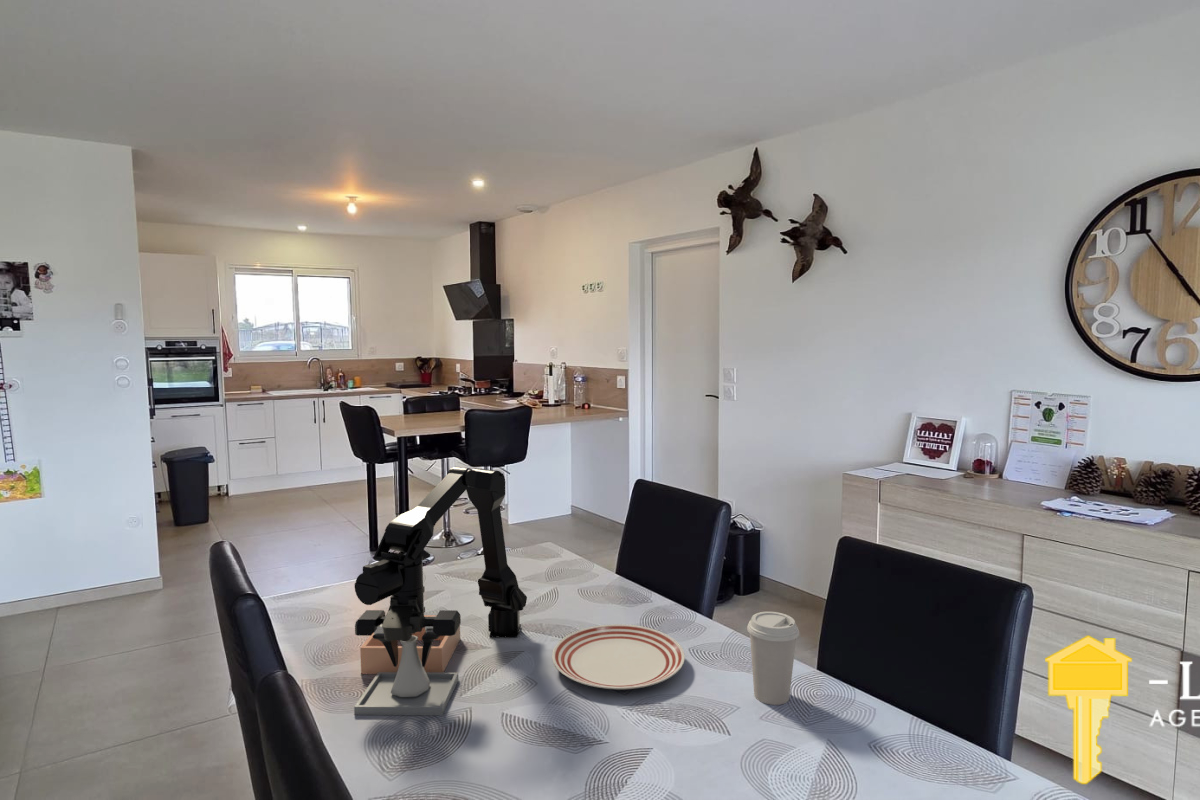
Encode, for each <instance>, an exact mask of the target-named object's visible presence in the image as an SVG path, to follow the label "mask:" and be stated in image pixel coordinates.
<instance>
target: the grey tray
mask: <svg viewBox="0 0 1200 800" xmlns="http://www.w3.org/2000/svg"><path fill="white" fill-rule="evenodd" d="M426 674H427V676H428V678H429V681H430V685H429V688H428V690H427V691H425V692H423V693H422V694H420V695H418V696H415V697H399V696H397V695H394V694H391V690H392V687H393V684H394V681H395V678H396V675H397V672H378V673H377V674H375V676H374V677H373V679H372V680H371V682H370V683H369V685H368V687H367V688H366V689H365V691H364V692H363V693H362V695H361V696H360V698H359V699H358V701H357V702H356V704H354V707H353V711H354V716H355V715H357V716H358V715H359V716H360V715H361V716H363V715H364V716H369V715H370V716H374V715H375V716H444V715H443V714H444V713H445V711H446V708H447V706H448V704H449V702H450V699H451V697H452V695H453V692H454V691H455V688H456V686H457V684H458V682H459V672H444V673H439V672H426Z"/></svg>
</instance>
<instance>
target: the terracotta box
mask: <svg viewBox="0 0 1200 800" xmlns="http://www.w3.org/2000/svg"><path fill="white" fill-rule="evenodd" d="M432 616H437V615H435V614H434V615H433V614H430V615H429V614H428V615H427V614H424V617H432ZM425 632H426V630H425V627H423V628H422V631H421V632H415V634H412V635H414V636H417V637H418V640H417V641H422V636H423V635H424V633H425ZM373 635H374V633H373V634H372V635H371V636H368V637H367V639H366V640H365V641H364V642H363V644H362V645H361V646H360V649H359V650H360V674H362V675H377V673H378V672H397V671H398V668H399V665H400V661H401V655H402V645H398V665H397V666H396V667H394V665H393V663H392V661H391V659H390V656H389V654H388V652H387V650H386V648H385V646H384V644H383V643H382V642H381V641H379V640H378V639H373V637H372V636H373ZM434 641H440V644H439V645H438V646H434V645H432V646H431V650H430V653H429V656H428V659H427V662H426V665H425V667H424V670H425V672H439V673H445V670H446V669H447V666H448V665H449V663H450V660H451V659H452V657H453V654H454V653H455V650H456V649H457V647H458V644H459V643H460V641H461V625H460V626H459V628H458V629H457V631H456V633H455V635H452V636H439V638H438V639H434ZM422 649H423V645H422V646H418V645H417V650H418V655H419V658H420V660H421V663H422Z"/></svg>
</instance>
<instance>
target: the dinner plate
mask: <svg viewBox="0 0 1200 800" xmlns="http://www.w3.org/2000/svg"><path fill="white" fill-rule="evenodd" d="M551 656H552V657H551V658H552V662H553V665H554V667H555V668H556V669H557V670H558V671H559V673H561V674H562V675H564V677H567V678H568V679H570V680H571V681H575V682H577V683H578V684H582V685H585V686H589V687H594V688H599V689H607V690H632V689H633V690H634V689H641V688H647V687H651V686H655V685H658V684H660V683H662V682H664V681H666V680H669V679H670V678H672V677H673V676H674V675H675V674H677V673H678V672H680V670H681V669H682V667H683V666H684V663H685V659H686V655H685V651H684V649H683V647H682V645H680V643H679V642H678V641H677V640H676V639H675V638H673V637H671V635H668V634H666V633H665V632H661V631H659V630H658V629H654V628H650V627H647V626H641V625H635V624H634V625H633V624H622V623H621V624H619V623H617V624H614V623H613V624H602V625H595V626H591V627H585V628H582V629H579V630H576V631H573V632H571V633H570V634H568V635H566V636H564V637H563V638H562V639H560V641H558V642H557V643H556V645H555V646H554V648H553V650H552V655H551Z"/></svg>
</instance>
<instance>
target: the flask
mask: <svg viewBox="0 0 1200 800" xmlns="http://www.w3.org/2000/svg"><path fill="white" fill-rule="evenodd" d="M418 641H419V640H418V637H417V636H414V635H412V637H411V639H409V640H408V641H401V640H399V642H400V644H401V646H402V655H401V661H400V665H399V668H398V671H397V675H396V678H395V681H394V684H393V687H392V690H391V694H394V695H397V696H399V697H415V696H418V695H420V694H422V693H423V692H425V691H427V690H428V688H429V685H430V681H429V678H428V676H427V674H426V672H425V670H424V667H422V663H421V660H420V658H419V655H418V650H417V646H418V645H417V643H418Z"/></svg>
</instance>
